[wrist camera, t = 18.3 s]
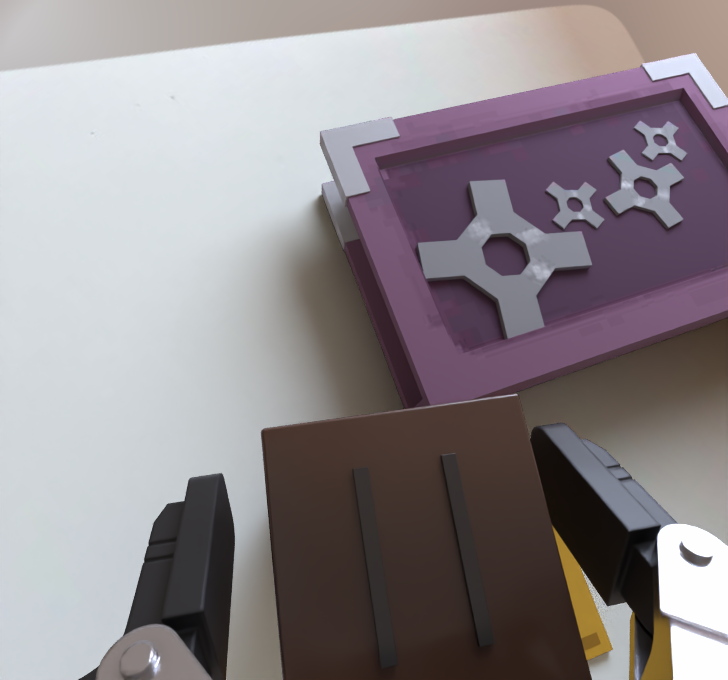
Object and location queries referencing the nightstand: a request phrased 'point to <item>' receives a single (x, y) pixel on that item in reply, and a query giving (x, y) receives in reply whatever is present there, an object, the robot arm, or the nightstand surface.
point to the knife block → (417, 548)
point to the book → (536, 227)
